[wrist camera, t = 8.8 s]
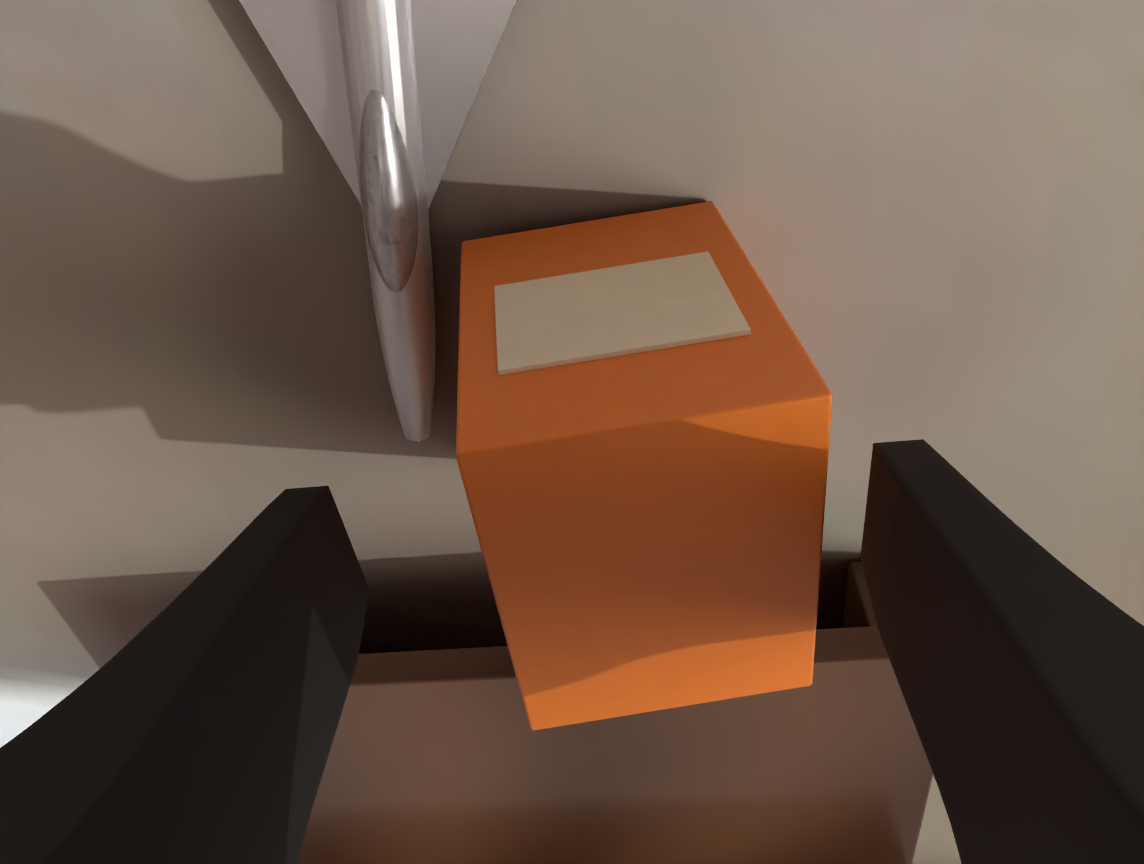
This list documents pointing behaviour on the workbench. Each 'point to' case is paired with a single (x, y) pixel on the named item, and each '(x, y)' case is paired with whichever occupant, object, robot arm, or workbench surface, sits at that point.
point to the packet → (640, 464)
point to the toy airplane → (390, 141)
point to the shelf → (623, 768)
